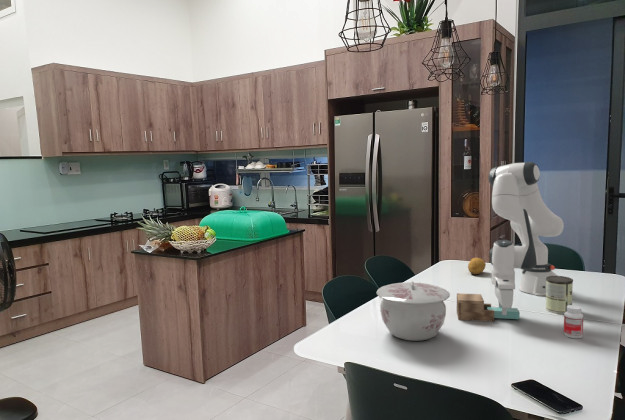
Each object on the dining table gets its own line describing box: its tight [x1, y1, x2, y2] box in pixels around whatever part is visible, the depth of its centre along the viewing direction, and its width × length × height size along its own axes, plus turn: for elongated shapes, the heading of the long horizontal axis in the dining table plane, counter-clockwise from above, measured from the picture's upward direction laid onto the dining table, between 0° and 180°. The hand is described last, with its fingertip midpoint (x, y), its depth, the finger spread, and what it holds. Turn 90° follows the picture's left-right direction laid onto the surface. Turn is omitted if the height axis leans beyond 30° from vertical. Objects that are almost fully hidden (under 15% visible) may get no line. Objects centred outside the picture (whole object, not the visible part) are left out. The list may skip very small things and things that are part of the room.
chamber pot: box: [376, 281, 451, 342], centre depth 173 cm, size 28×28×21 cm
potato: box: [467, 257, 486, 275], centre depth 263 cm, size 10×13×9 cm
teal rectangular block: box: [487, 306, 521, 320], centre depth 189 cm, size 12×5×3 cm, turn 76°
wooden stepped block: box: [456, 292, 495, 322], centre depth 191 cm, size 14×10×8 cm
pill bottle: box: [563, 304, 584, 339], centre depth 168 cm, size 6×6×11 cm
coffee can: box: [545, 275, 574, 315], centre depth 196 cm, size 10×10×14 cm
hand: (502, 312), depth 189 cm, fingers closed on teal rectangular block, 5 cm apart
